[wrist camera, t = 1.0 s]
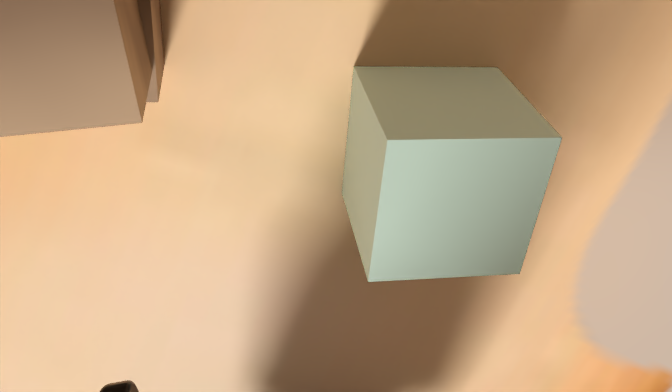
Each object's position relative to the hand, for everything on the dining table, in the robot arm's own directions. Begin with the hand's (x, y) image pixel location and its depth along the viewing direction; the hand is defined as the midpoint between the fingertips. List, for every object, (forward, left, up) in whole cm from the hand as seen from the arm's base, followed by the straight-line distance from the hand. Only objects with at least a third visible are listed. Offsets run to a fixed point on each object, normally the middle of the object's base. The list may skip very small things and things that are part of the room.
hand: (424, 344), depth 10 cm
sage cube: (-3, -4, -13) cm, 14 cm away
